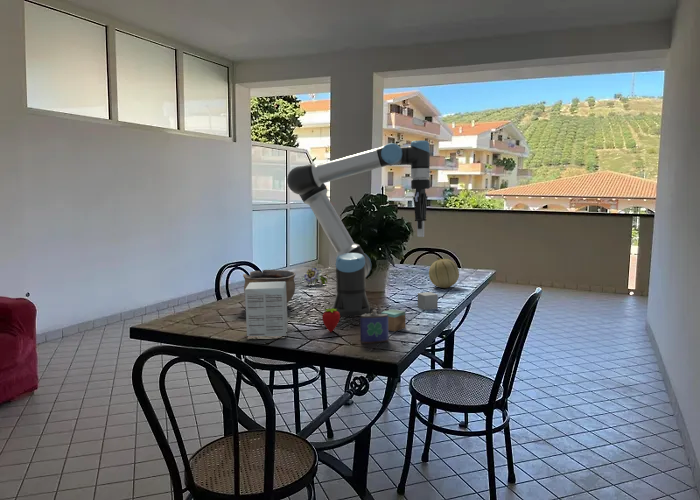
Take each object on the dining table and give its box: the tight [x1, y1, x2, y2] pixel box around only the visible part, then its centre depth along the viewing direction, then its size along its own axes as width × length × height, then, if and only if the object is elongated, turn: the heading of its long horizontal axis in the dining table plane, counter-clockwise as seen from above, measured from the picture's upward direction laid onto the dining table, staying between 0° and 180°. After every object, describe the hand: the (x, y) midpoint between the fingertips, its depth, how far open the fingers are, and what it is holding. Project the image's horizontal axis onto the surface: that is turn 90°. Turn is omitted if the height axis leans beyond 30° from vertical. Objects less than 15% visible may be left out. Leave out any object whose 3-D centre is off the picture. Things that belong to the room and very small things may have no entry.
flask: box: [359, 309, 390, 344], centre depth 165 cm, size 9×3×11 cm, turn 95°
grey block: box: [417, 291, 439, 311], centre depth 212 cm, size 6×6×6 cm
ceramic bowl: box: [242, 269, 297, 304], centre depth 217 cm, size 22×22×15 cm
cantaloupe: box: [428, 257, 460, 289], centre depth 253 cm, size 15×15×15 cm
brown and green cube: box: [380, 309, 407, 332], centre depth 181 cm, size 6×6×6 cm
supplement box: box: [244, 281, 289, 337], centre depth 176 cm, size 13×13×18 cm
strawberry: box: [321, 303, 341, 333], centre depth 177 cm, size 6×8×10 cm
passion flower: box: [301, 265, 329, 285], centre depth 269 cm, size 11×11×12 cm
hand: (420, 236), depth 211 cm, fingers closed
